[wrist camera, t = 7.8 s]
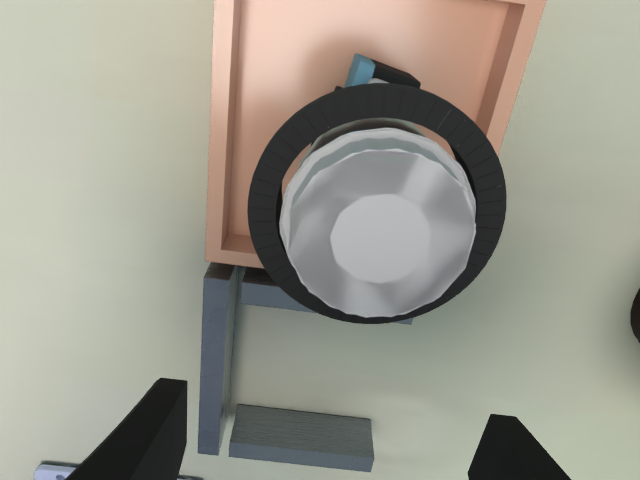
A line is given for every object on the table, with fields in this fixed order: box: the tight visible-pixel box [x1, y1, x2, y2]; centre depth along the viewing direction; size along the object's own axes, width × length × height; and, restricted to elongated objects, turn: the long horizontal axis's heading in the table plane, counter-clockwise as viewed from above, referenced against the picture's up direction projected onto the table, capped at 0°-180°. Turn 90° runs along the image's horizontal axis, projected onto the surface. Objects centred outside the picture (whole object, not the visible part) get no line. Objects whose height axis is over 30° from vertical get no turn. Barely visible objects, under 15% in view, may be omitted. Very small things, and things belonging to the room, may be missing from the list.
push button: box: [247, 53, 506, 324], centre depth 14 cm, size 7×5×10 cm
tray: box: [205, 0, 547, 269], centre depth 18 cm, size 10×11×2 cm
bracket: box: [198, 262, 413, 472], centre depth 22 cm, size 8×10×2 cm
